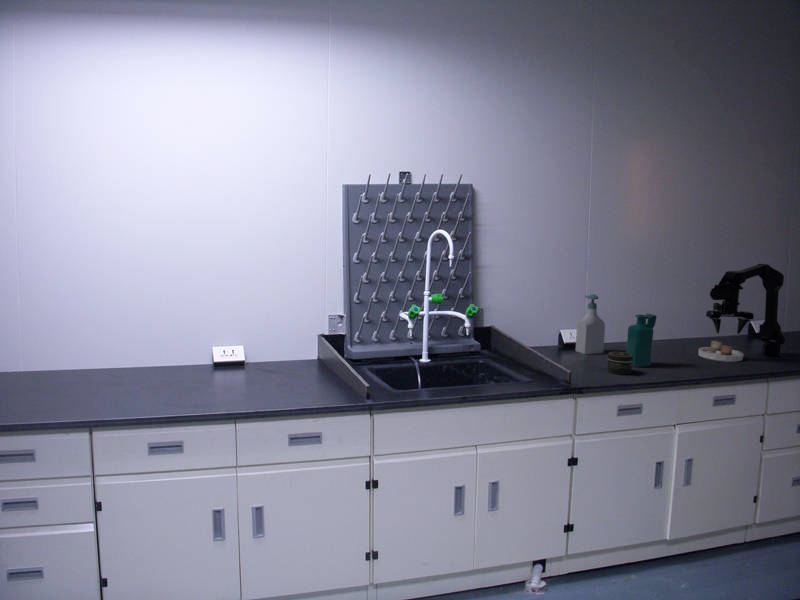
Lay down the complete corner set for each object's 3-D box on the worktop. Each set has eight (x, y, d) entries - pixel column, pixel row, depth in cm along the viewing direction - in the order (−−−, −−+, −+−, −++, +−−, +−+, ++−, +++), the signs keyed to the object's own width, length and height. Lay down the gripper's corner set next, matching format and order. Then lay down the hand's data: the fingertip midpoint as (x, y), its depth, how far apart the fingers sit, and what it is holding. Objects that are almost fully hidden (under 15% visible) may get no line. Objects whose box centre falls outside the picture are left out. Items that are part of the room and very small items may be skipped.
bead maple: (722, 353, 293) (723, 342, 292) (712, 352, 293) (713, 342, 292) (718, 351, 297) (719, 340, 297) (708, 350, 297) (709, 340, 297)
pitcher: (635, 367, 267) (639, 316, 263) (623, 362, 275) (627, 313, 271) (655, 366, 269) (659, 316, 266) (642, 361, 277) (646, 312, 274)
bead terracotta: (733, 358, 283) (734, 347, 282) (723, 357, 283) (724, 347, 282) (728, 355, 287) (729, 345, 287) (718, 355, 288) (719, 344, 287)
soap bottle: (591, 349, 301) (595, 292, 297) (603, 352, 294) (607, 294, 290) (572, 350, 297) (576, 293, 293) (584, 354, 289) (588, 295, 285)
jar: (611, 367, 265) (613, 350, 264) (635, 372, 259) (637, 354, 258) (602, 372, 258) (604, 354, 257) (627, 376, 251) (628, 358, 250)
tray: (730, 353, 299) (731, 347, 299) (750, 362, 281) (751, 356, 281) (691, 351, 300) (692, 346, 299) (709, 361, 282) (709, 355, 281)
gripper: (743, 297, 289) (739, 330, 292) (702, 296, 290) (699, 329, 292) (756, 301, 278) (752, 335, 281) (713, 299, 279) (710, 334, 281)
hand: (727, 333), depth 284 cm, fingers open, 9 cm apart
